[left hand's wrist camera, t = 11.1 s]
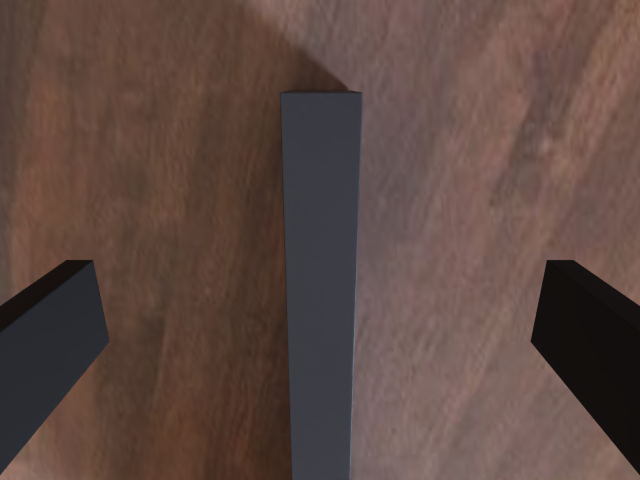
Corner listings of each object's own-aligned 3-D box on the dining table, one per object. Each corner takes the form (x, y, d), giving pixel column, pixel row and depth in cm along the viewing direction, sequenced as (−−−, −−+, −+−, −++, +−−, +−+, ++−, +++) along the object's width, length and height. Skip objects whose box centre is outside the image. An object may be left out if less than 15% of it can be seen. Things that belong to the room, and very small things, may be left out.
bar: (289, 90, 33) (279, 92, 25) (352, 90, 33) (362, 92, 25) (300, 560, 52) (296, 648, 44) (340, 560, 52) (344, 648, 44)
